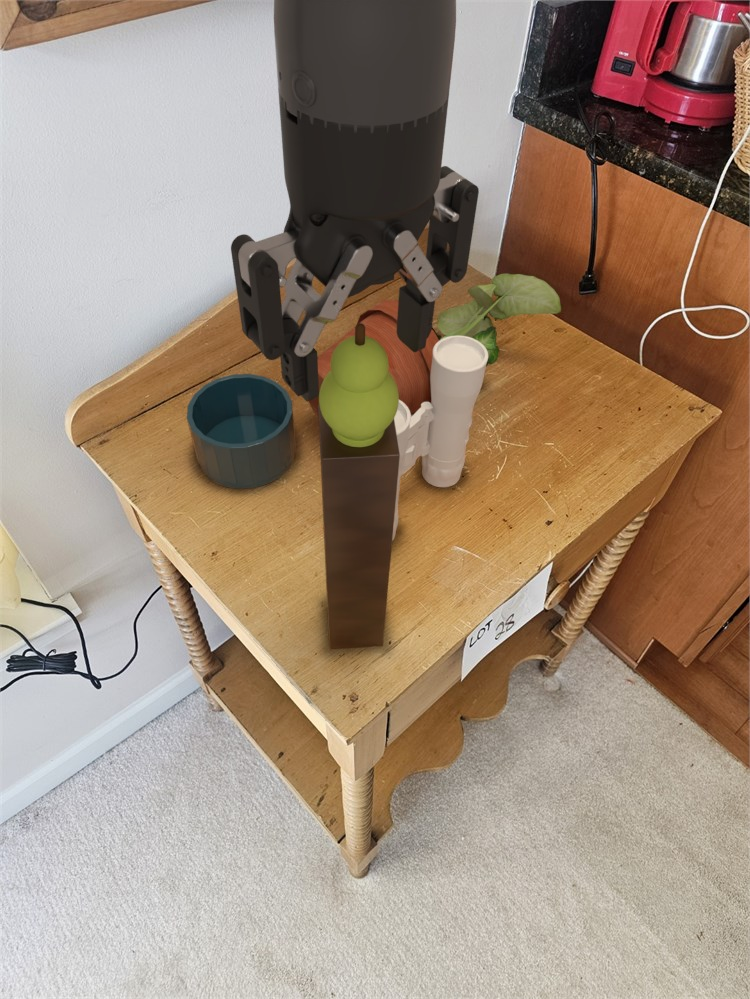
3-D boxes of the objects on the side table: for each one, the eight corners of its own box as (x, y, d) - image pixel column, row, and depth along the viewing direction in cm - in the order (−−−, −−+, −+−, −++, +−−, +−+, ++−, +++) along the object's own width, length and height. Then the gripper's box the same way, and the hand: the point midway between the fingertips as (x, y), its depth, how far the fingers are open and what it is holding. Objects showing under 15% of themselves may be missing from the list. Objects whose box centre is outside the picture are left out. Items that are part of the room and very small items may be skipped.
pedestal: (329, 650, 68) (321, 459, 46) (326, 603, 71) (318, 403, 49) (382, 646, 68) (400, 455, 46) (377, 599, 72) (391, 400, 50)
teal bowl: (194, 491, 80) (183, 450, 74) (200, 418, 87) (190, 375, 81) (297, 486, 80) (293, 444, 75) (294, 414, 88) (291, 371, 82)
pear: (322, 458, 46) (317, 355, 39) (318, 403, 49) (314, 298, 42) (400, 454, 46) (409, 351, 40) (392, 399, 50) (399, 296, 43)
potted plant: (372, 490, 83) (568, 350, 95) (360, 396, 71) (587, 250, 83) (294, 421, 90) (485, 300, 103) (272, 326, 78) (491, 202, 91)
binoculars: (437, 448, 85) (455, 327, 71) (473, 471, 83) (499, 352, 69) (339, 532, 77) (337, 415, 62) (376, 561, 74) (383, 446, 60)
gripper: (438, 22, 35) (413, 298, 48) (175, 83, 30) (227, 376, 43) (542, 75, 31) (485, 358, 44) (263, 156, 26) (291, 452, 39)
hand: (359, 366), depth 43 cm, fingers open, 7 cm apart
